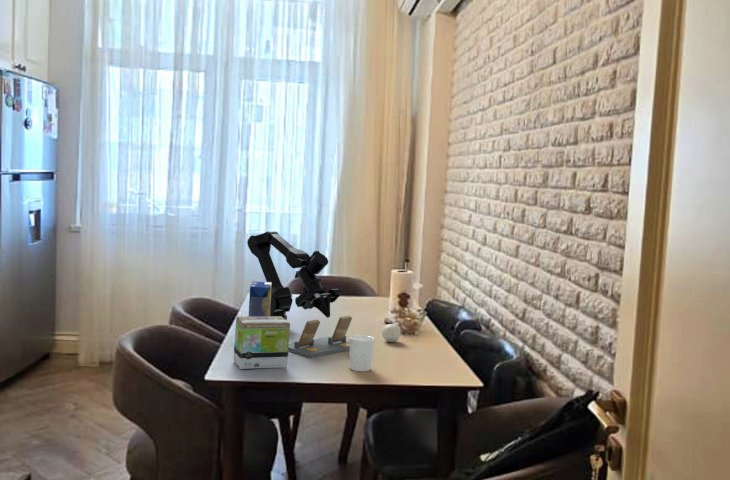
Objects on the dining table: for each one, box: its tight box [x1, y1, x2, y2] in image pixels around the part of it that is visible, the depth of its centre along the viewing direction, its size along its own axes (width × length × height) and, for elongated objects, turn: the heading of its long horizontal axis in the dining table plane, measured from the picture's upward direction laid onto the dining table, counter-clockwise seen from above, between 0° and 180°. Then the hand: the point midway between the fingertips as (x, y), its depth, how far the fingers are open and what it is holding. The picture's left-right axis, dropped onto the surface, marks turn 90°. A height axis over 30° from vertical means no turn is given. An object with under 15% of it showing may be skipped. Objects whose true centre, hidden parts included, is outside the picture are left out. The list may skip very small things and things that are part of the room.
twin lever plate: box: [288, 335, 350, 359], centre depth 248 cm, size 14×24×3 cm, turn 137°
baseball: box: [381, 323, 402, 343], centre depth 263 cm, size 7×7×7 cm
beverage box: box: [248, 280, 272, 317], centre depth 242 cm, size 7×11×22 cm, turn 6°
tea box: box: [233, 316, 291, 370], centre depth 222 cm, size 15×10×15 cm, turn 114°
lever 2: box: [331, 315, 353, 342], centre depth 250 cm, size 1×5×10 cm, turn 137°
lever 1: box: [298, 319, 321, 347], centre depth 241 cm, size 1×5×10 cm, turn 137°
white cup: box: [348, 334, 375, 372], centre depth 225 cm, size 8×8×10 cm
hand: (328, 316), depth 254 cm, fingers closed
